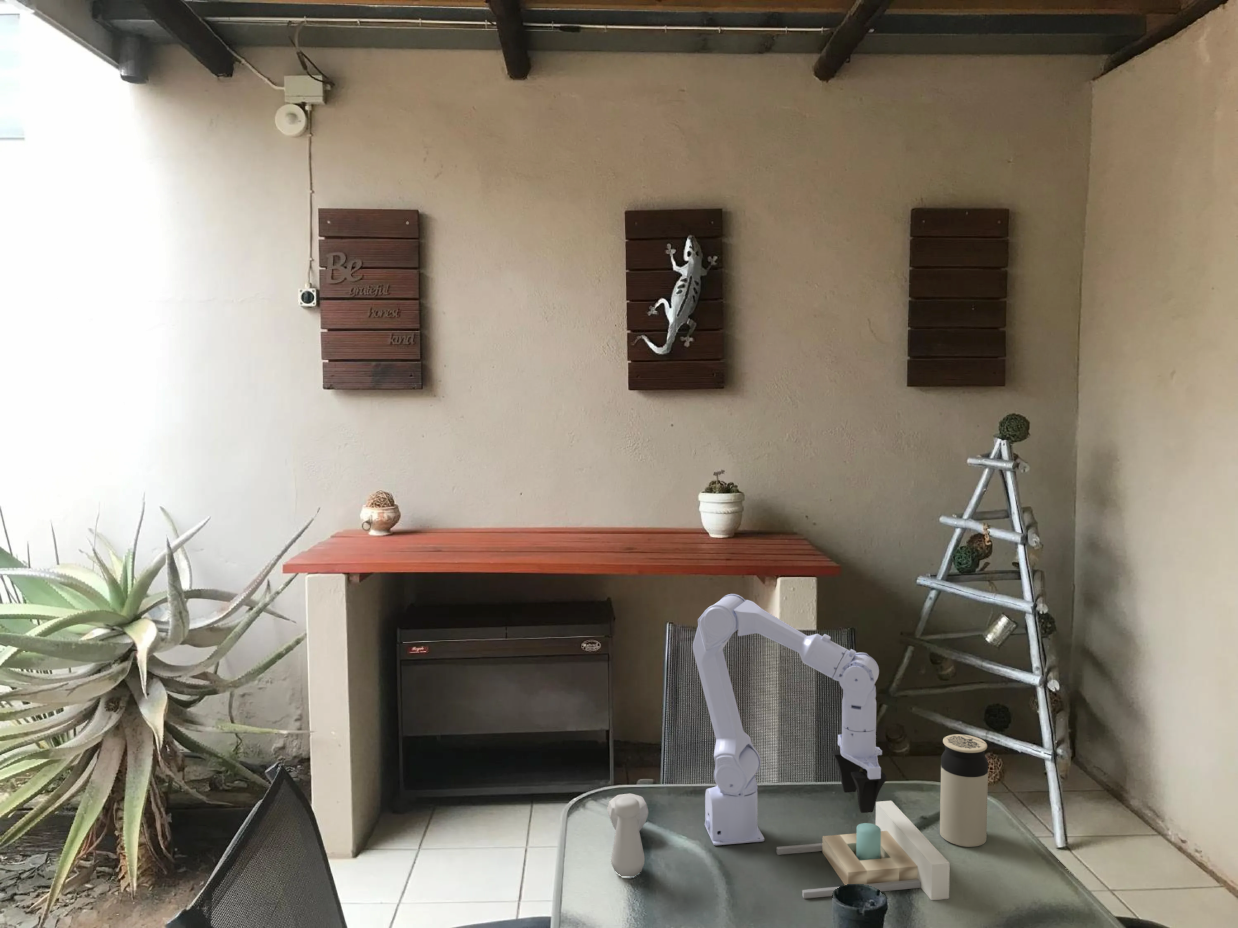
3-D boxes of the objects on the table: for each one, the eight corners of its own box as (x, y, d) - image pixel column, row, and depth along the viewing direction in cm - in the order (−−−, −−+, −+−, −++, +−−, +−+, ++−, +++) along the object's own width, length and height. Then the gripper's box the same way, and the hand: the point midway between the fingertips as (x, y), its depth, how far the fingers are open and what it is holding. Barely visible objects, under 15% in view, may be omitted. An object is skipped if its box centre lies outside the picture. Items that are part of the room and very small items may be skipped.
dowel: (884, 872, 155) (884, 833, 155) (861, 874, 155) (861, 835, 154) (874, 860, 159) (875, 822, 159) (852, 862, 159) (853, 823, 158)
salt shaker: (606, 867, 158) (604, 795, 157) (636, 860, 160) (635, 789, 159) (619, 884, 153) (618, 810, 152) (650, 876, 155) (649, 803, 154)
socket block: (848, 889, 150) (848, 872, 150) (822, 852, 162) (822, 835, 162) (917, 883, 152) (917, 865, 152) (886, 846, 164) (887, 830, 163)
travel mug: (962, 852, 162) (964, 753, 160) (930, 831, 169) (931, 737, 167) (996, 842, 165) (998, 745, 163) (963, 822, 172) (965, 730, 170)
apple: (645, 843, 166) (645, 809, 166) (603, 840, 168) (602, 806, 167) (651, 822, 174) (651, 789, 173) (611, 819, 175) (610, 786, 175)
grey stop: (811, 911, 144) (811, 875, 144) (770, 841, 166) (770, 810, 166) (948, 898, 147) (949, 862, 147) (890, 831, 169) (891, 800, 169)
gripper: (898, 740, 151) (897, 819, 153) (864, 709, 166) (863, 781, 167) (858, 743, 150) (856, 822, 152) (827, 711, 165) (826, 783, 166)
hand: (857, 801), depth 159 cm, fingers open, 7 cm apart
